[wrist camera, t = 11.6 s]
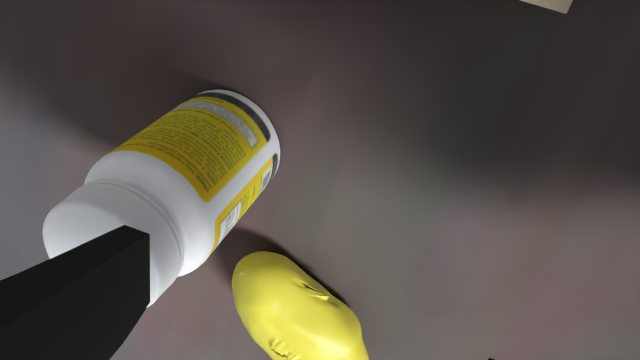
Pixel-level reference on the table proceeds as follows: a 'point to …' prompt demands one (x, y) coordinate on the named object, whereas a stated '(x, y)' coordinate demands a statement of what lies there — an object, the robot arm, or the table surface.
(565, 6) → the birch block
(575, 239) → the table surface
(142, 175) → the supplement bottle
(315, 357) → the lemon
